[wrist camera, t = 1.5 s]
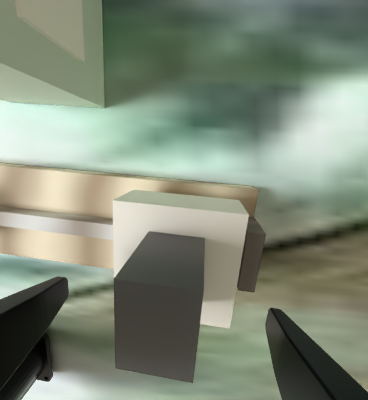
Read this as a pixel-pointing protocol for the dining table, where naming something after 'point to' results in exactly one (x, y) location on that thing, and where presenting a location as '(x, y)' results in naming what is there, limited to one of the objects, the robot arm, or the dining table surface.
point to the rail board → (96, 214)
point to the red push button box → (52, 52)
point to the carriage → (172, 276)
